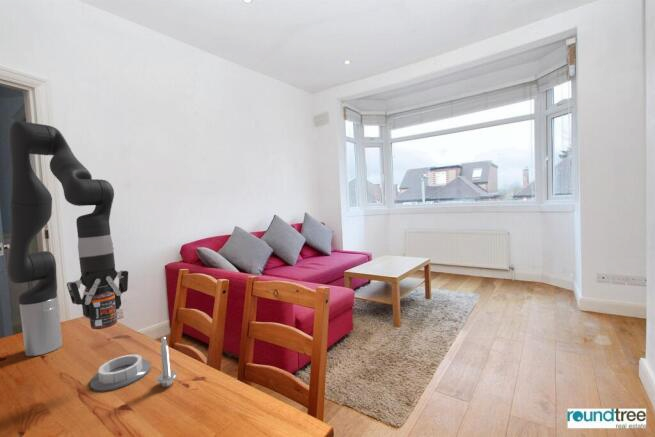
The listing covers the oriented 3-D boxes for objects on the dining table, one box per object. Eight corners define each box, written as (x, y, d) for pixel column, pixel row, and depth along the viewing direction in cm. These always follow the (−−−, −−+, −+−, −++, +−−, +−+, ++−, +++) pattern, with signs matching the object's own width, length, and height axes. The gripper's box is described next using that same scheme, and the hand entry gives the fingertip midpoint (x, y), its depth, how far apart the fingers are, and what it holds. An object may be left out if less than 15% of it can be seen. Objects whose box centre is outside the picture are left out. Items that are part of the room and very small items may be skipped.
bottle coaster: (80, 382, 82) (78, 371, 82) (133, 357, 94) (132, 347, 94) (107, 397, 75) (106, 384, 75) (161, 368, 88) (160, 357, 87)
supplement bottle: (103, 330, 80) (98, 288, 79) (85, 330, 81) (80, 288, 80) (123, 321, 86) (118, 282, 85) (105, 321, 87) (101, 282, 86)
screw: (164, 378, 82) (181, 378, 82) (152, 389, 78) (170, 389, 77) (160, 332, 82) (177, 332, 81) (148, 340, 77) (166, 340, 76)
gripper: (118, 248, 90) (124, 303, 91) (57, 257, 78) (64, 321, 79) (132, 248, 86) (137, 306, 87) (70, 258, 74) (78, 325, 75)
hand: (103, 312), depth 83 cm, fingers closed on supplement bottle, 6 cm apart
